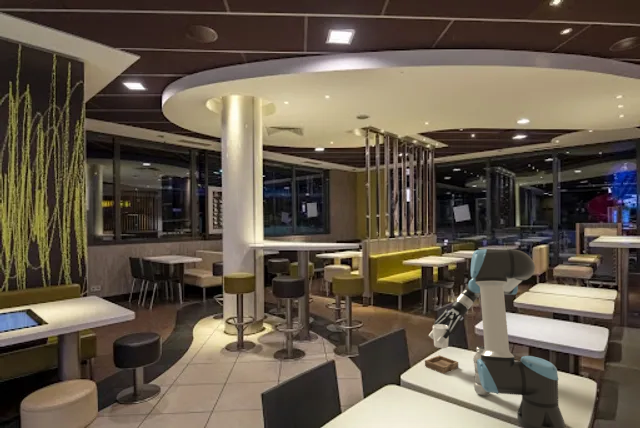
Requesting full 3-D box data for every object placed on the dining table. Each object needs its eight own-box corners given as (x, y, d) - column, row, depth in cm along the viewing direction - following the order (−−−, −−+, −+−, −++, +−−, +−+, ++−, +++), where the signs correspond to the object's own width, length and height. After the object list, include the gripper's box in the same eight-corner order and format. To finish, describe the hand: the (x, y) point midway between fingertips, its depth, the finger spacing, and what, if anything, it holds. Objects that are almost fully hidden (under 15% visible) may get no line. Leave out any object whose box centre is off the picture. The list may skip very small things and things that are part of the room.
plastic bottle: (481, 398, 160) (480, 351, 160) (470, 391, 167) (469, 345, 167) (494, 396, 162) (492, 349, 162) (483, 389, 168) (482, 344, 168)
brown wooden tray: (443, 373, 185) (443, 367, 185) (425, 366, 195) (424, 360, 195) (458, 367, 192) (458, 362, 192) (439, 361, 201) (439, 355, 201)
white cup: (429, 345, 195) (429, 325, 195) (441, 342, 199) (441, 323, 199) (440, 349, 188) (440, 329, 188) (452, 347, 192) (452, 327, 192)
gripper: (479, 314, 187) (451, 351, 183) (454, 305, 207) (429, 338, 203) (469, 304, 186) (441, 341, 182) (445, 296, 206) (419, 329, 202)
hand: (434, 339), depth 193 cm, fingers closed on white cup, 8 cm apart
